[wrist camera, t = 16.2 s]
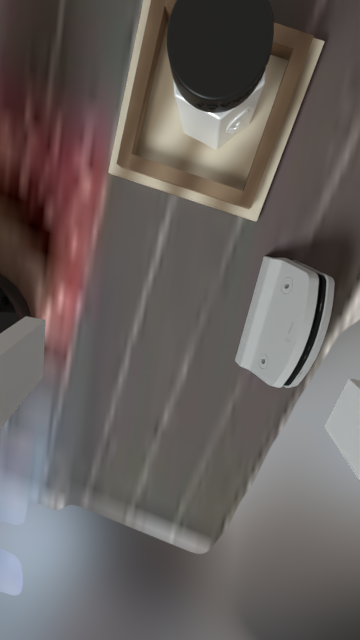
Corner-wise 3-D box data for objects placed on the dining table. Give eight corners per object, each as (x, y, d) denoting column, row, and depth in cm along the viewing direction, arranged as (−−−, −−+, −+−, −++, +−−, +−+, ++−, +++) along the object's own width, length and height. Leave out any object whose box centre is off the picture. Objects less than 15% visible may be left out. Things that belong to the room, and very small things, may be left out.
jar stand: (110, 173, 36) (102, 168, 33) (149, -10, 31) (143, -35, 28) (255, 221, 36) (259, 220, 33) (321, 47, 31) (332, 28, 28)
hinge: (264, 253, 37) (315, 265, 28) (293, 258, 39) (351, 272, 30) (234, 363, 42) (269, 402, 33) (261, 364, 44) (301, 403, 35)
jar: (202, 164, 34) (199, 128, 23) (164, 101, 33) (140, 28, 21) (267, 113, 32) (300, 45, 20) (229, 43, 30) (243, -73, 19)
